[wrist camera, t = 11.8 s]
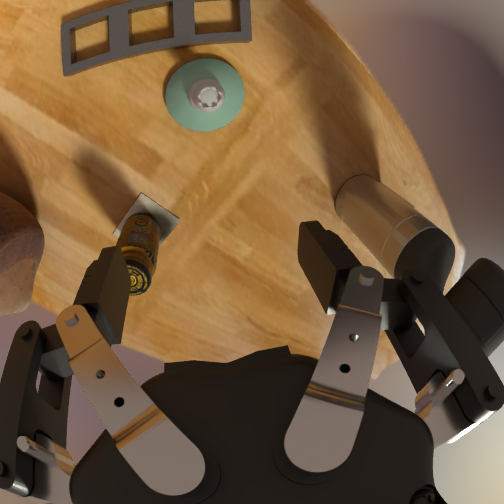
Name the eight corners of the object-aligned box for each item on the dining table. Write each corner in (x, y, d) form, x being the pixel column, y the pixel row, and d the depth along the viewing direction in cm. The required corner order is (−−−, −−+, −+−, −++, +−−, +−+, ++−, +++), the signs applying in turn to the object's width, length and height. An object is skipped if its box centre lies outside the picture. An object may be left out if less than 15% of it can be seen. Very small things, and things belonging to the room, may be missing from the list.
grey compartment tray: (246, -8, 23) (249, -12, 21) (248, 42, 27) (251, 40, 26) (67, 26, 19) (61, 24, 18) (69, 76, 24) (63, 76, 22)
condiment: (113, 233, 39) (94, 284, 29) (141, 192, 36) (125, 236, 27) (150, 256, 43) (143, 310, 33) (180, 219, 40) (179, 269, 31)
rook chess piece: (228, 104, 31) (237, 110, 25) (194, 116, 31) (195, 124, 25) (217, 73, 29) (225, 70, 22) (183, 85, 29) (180, 85, 22)
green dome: (241, 56, 28) (242, 55, 28) (245, 126, 34) (246, 127, 33) (162, 64, 27) (162, 64, 26) (170, 135, 33) (169, 136, 32)
